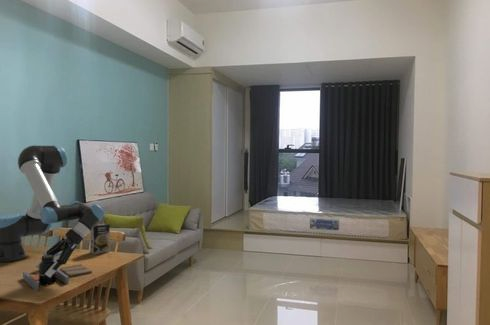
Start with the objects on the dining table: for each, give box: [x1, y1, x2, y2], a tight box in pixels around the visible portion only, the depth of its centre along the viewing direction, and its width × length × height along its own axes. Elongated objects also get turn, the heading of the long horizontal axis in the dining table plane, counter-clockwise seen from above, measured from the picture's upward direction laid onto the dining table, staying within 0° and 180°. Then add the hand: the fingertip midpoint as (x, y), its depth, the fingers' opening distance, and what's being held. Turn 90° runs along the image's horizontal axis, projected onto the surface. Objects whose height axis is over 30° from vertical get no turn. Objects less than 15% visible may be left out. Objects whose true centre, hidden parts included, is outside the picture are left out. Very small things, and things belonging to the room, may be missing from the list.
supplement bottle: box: [38, 254, 57, 286], centre depth 173 cm, size 7×7×12 cm
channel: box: [22, 268, 70, 291], centre depth 176 cm, size 20×13×3 cm
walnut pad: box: [59, 263, 93, 278], centre depth 190 cm, size 14×10×1 cm
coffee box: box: [89, 222, 111, 255], centre depth 225 cm, size 9×6×16 cm
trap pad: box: [32, 274, 39, 282], centre depth 180 cm, size 6×9×1 cm, turn 133°
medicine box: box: [43, 250, 62, 262], centre depth 197 cm, size 8×4×9 cm, turn 168°
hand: (42, 272), depth 172 cm, fingers open, 13 cm apart
